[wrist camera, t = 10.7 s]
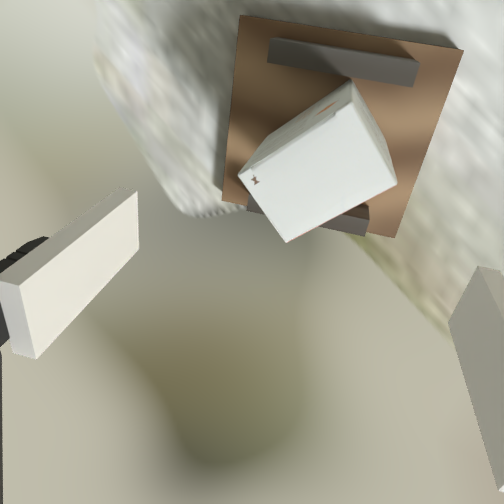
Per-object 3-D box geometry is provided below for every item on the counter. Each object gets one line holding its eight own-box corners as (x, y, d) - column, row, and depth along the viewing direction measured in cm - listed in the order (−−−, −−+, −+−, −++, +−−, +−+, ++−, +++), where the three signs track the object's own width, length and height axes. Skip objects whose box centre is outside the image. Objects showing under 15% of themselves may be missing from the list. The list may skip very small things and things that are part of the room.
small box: (301, 189, 35) (283, 246, 26) (265, 134, 33) (233, 176, 24) (387, 139, 31) (401, 186, 22) (352, 75, 30) (351, 99, 21)
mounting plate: (244, 15, 30) (228, 14, 27) (459, 49, 29) (475, 53, 25) (226, 194, 38) (211, 213, 35) (393, 230, 36) (397, 255, 33)
